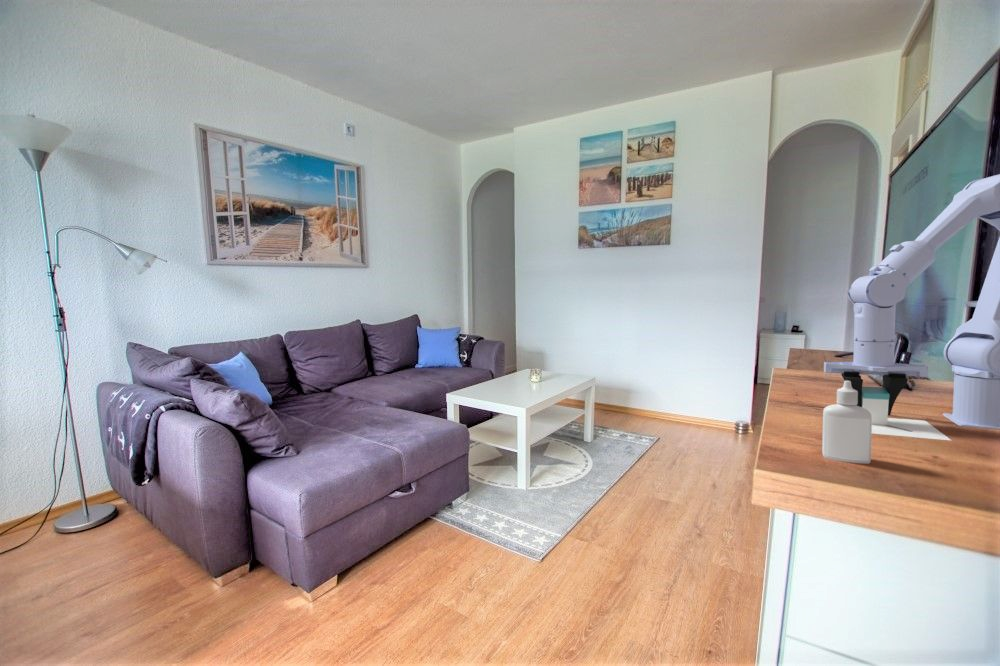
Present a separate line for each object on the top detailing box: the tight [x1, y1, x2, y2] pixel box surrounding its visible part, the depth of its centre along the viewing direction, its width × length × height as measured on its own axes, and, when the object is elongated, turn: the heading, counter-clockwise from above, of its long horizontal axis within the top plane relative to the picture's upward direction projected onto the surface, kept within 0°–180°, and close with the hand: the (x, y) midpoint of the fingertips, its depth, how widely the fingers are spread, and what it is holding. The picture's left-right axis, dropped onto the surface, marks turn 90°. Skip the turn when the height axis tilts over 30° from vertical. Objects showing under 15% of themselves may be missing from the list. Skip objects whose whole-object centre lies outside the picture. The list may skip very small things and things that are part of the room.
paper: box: [871, 417, 953, 441], centre depth 78 cm, size 12×12×1 cm
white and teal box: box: [861, 385, 890, 425], centre depth 81 cm, size 4×4×6 cm
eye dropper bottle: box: [821, 380, 873, 465], centre depth 65 cm, size 4×6×12 cm
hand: (871, 412), depth 81 cm, fingers closed on white and teal box, 3 cm apart
